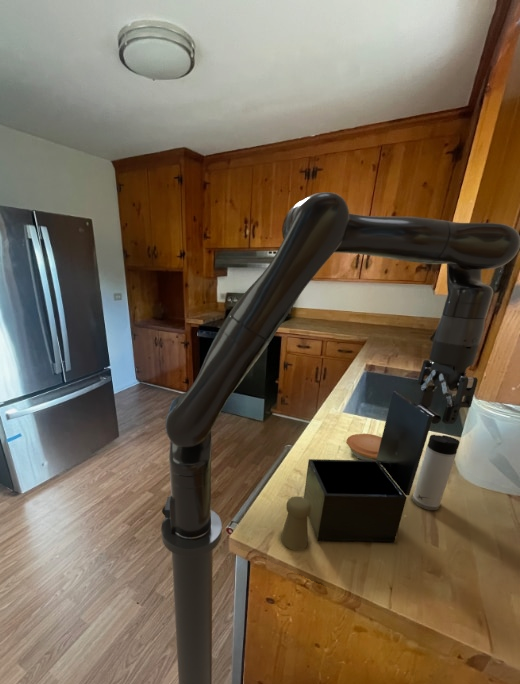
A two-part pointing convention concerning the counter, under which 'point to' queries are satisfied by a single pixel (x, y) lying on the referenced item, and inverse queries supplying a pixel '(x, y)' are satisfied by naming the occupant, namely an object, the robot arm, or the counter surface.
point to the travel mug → (435, 471)
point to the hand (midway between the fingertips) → (435, 414)
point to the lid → (404, 439)
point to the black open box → (353, 501)
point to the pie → (364, 446)
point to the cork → (296, 523)
